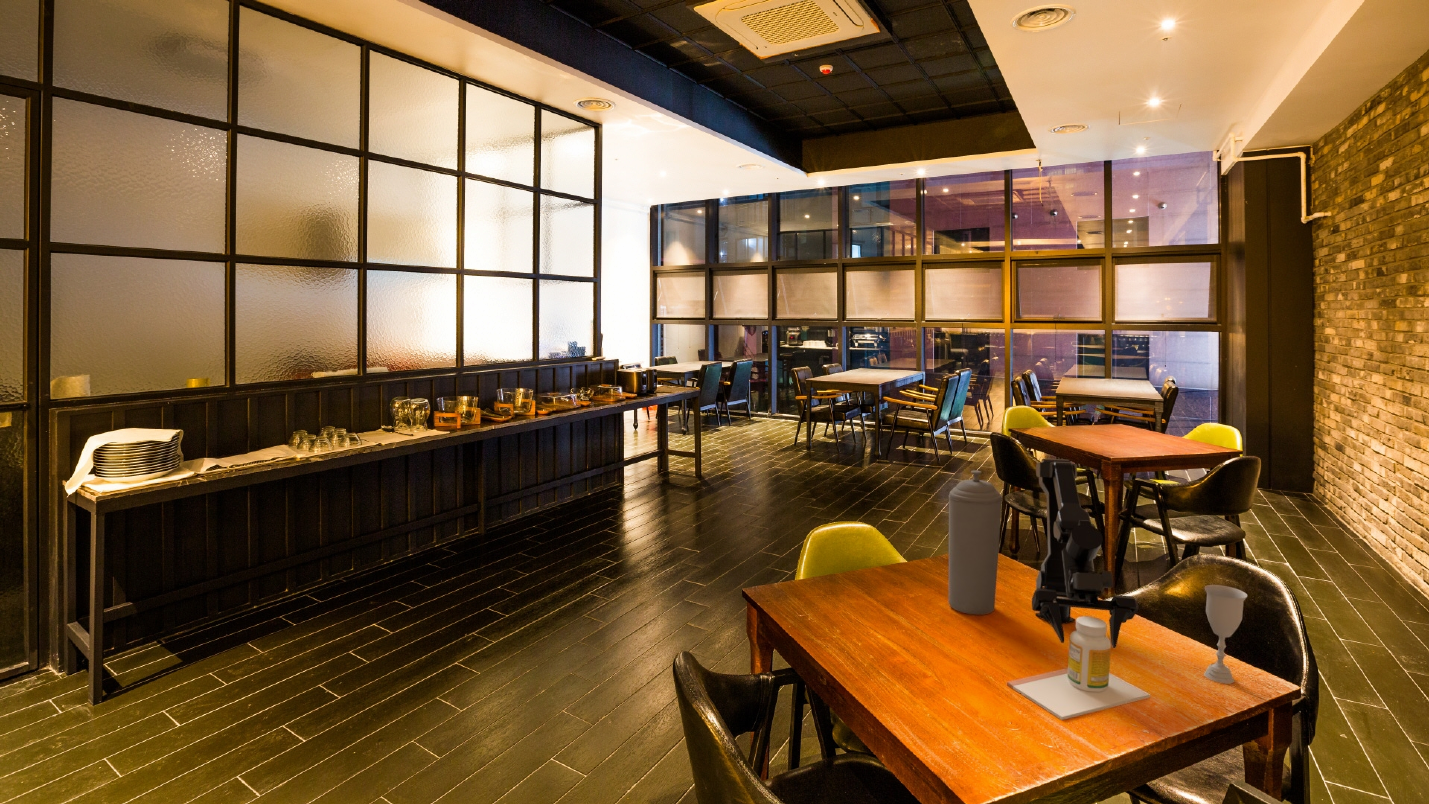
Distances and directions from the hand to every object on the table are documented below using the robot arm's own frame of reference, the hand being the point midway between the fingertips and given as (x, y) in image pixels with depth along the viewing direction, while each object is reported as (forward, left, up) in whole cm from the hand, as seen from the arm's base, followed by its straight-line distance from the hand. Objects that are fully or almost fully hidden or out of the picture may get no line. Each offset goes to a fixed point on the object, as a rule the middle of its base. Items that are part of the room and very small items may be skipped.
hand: (1088, 645), depth 142 cm
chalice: (-27, +7, -8) cm, 30 cm away
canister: (-5, -40, -8) cm, 41 cm away
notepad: (+4, +1, -8) cm, 9 cm away
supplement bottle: (0, +1, -8) cm, 8 cm away
